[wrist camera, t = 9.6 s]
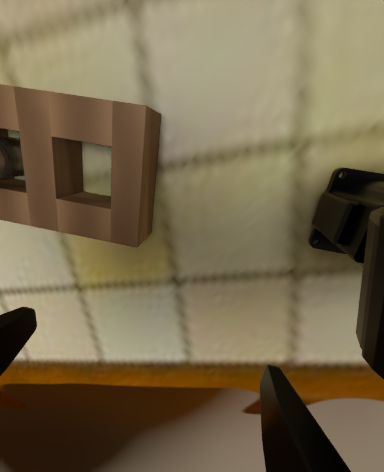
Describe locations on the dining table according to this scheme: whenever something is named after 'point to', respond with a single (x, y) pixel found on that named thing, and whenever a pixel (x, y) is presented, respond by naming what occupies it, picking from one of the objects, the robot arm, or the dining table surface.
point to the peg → (11, 157)
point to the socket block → (80, 164)
